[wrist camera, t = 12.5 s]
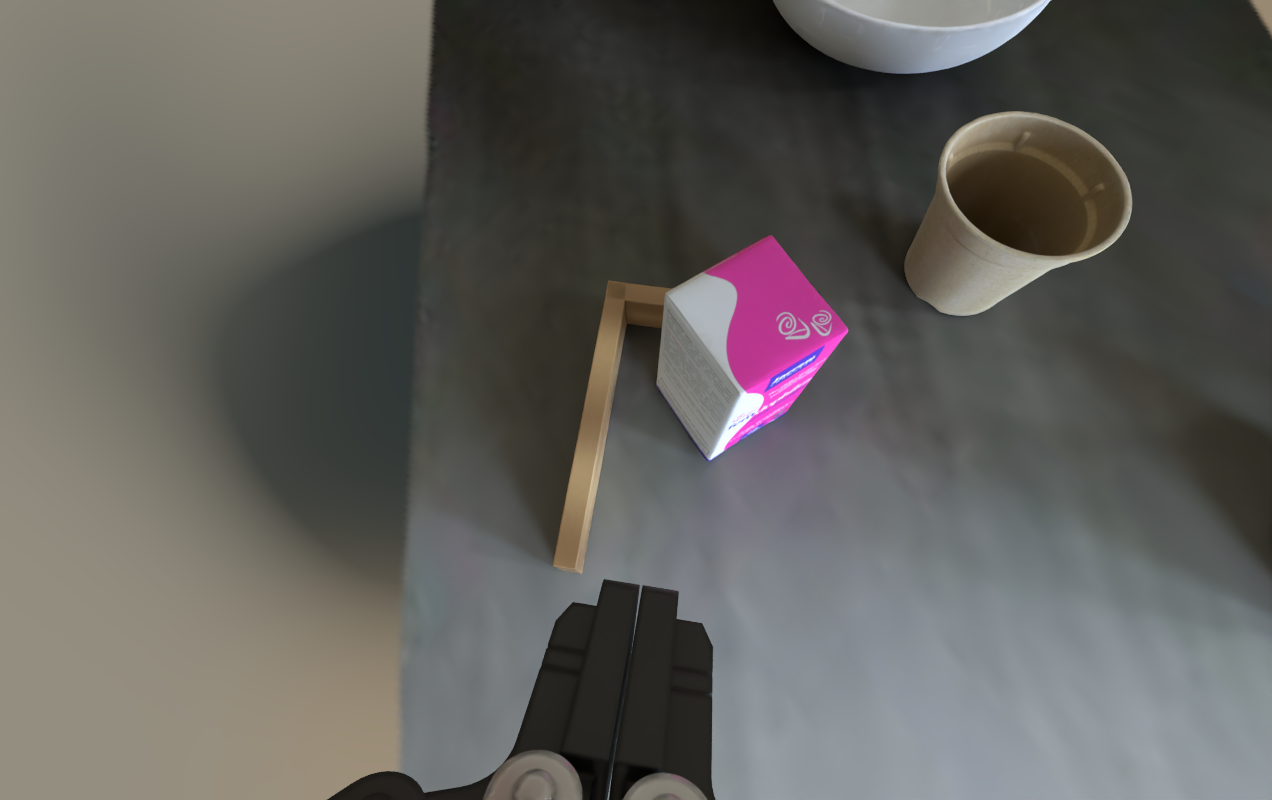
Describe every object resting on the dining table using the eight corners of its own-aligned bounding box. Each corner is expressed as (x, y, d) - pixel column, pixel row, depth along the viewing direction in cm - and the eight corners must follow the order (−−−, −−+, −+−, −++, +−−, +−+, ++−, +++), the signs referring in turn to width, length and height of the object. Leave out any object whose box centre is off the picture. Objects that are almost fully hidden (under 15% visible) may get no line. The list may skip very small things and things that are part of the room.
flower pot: (964, 192, 40) (1044, 85, 32) (1060, 300, 37) (1175, 212, 29) (849, 248, 39) (902, 151, 31) (939, 365, 36) (1023, 291, 28)
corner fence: (611, 305, 38) (608, 280, 35) (781, 327, 37) (792, 303, 34) (560, 570, 32) (552, 565, 29) (759, 602, 31) (770, 601, 29)
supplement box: (709, 467, 34) (737, 398, 23) (654, 385, 36) (656, 287, 25) (790, 416, 35) (854, 327, 24) (732, 339, 37) (767, 225, 26)
